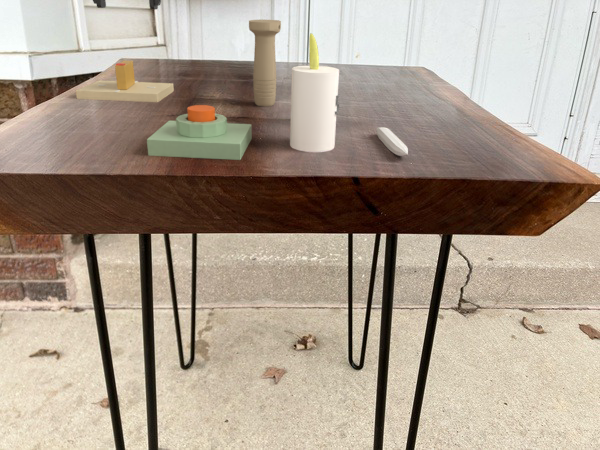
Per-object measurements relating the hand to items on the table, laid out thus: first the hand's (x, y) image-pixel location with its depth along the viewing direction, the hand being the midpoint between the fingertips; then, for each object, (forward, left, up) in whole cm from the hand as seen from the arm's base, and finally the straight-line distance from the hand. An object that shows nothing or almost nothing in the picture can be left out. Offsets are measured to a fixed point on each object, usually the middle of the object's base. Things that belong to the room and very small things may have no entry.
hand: (127, 8), depth 85 cm
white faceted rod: (+42, -17, -16) cm, 48 cm away
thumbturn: (-3, +3, -13) cm, 14 cm away
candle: (+31, -18, -16) cm, 40 cm away
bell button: (+16, -21, -12) cm, 29 cm away
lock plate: (-3, +3, -16) cm, 17 cm away
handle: (+22, 0, -16) cm, 28 cm away
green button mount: (+16, -21, -16) cm, 31 cm away
